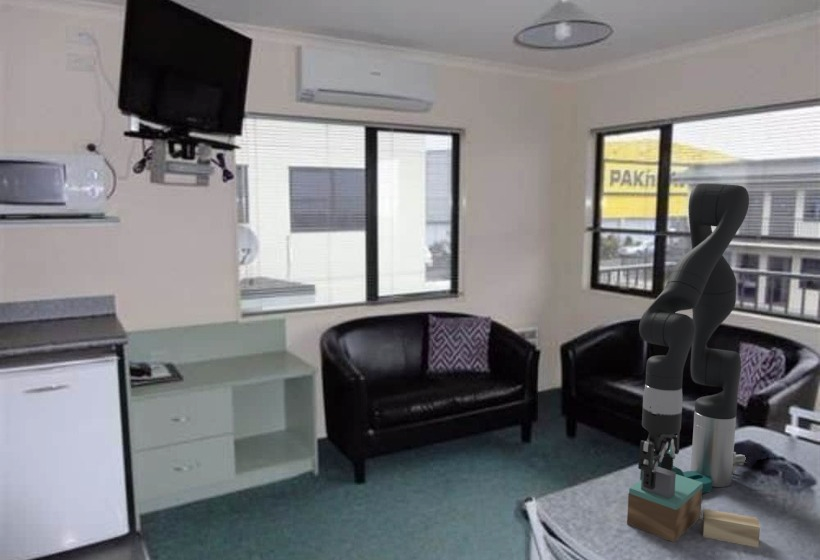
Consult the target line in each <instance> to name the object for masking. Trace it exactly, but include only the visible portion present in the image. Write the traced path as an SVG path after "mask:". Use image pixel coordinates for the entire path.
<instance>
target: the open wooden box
mask: <svg viewBox="0 0 820 560" xmlns="http://www.w3.org/2000/svg"><path fill="white" fill-rule="evenodd" d="M702 494H703V493H702V489H701V490H699V491H698V492H697V493H696V494H695V495H694V496H692V497H691V498H690V499H689V500H688V501H687V502H685V503H684V504H683V505H682V506H681V507H680V508H678V509H677V510H674V509H672V508H669V507H666V506H663V505H661V504H658V503H655V502H652V501H649V500H647V499H644V498H641V497H638V496H635V495H633V494H630V493H629V492H628V495H627V496H628V498H627V499H628V501H627V516H626V517H627V519H626V520H627V521H626V524H627V525H628V526H629V525H630V526H631V525H632V527H634V528H636V529H639V530H641V531H644V532H647V533H650V534H652V535H654V536H657V537H659V538H662V539H664V540H666V541H670V542H671V543H675V542H676V541H677V540H679V539H680V538H681V536H682V535H683V534H685V533H686V532H687V531H688V530H689V529H690V528H691V527H693V525H694V524H695V523H697V521H699V520H700V519H701V511H702V498H703V495H702Z"/></svg>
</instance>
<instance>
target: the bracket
mask: <svg viewBox="0 0 820 560" xmlns="http://www.w3.org/2000/svg"><path fill="white" fill-rule="evenodd" d="M653 463H654V461H653ZM658 467H661V463H658ZM673 471H674V472H676V474H677V475H680V476H684V477H687V478H690V479H693V480H696V481H700V482H703V488H702V494H704V493H708V492H711V491H712V490H713V489H712V488H713V486H712V478H711V477H707V476H704V475H701V474H699V473H697V472H695V471H691V470H686V471H683V470H682V469H681V468H678V467H677V466H675V465H673ZM639 473H640V475H639V481H640V480H642V470H641V469H640V472H639Z"/></svg>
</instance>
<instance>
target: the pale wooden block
mask: <svg viewBox="0 0 820 560" xmlns="http://www.w3.org/2000/svg"><path fill="white" fill-rule="evenodd" d="M701 525H702V526H701V529H702V537H703V538H705V539H706V538H707V539H713V540H717V541H723V542H729V543H732V544H737V545H743V546H748V547H754V548H759V547H760V546H759V545H760V544H759V543H760V532H761V531H760V530H761V526H760V522H759V519H758V518H757V517H753V516H748V515H742V514H736V513H730V512H726V511H720V510H714V509H709V508H703V510H702V523H701Z"/></svg>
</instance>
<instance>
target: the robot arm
mask: <svg viewBox="0 0 820 560" xmlns="http://www.w3.org/2000/svg"><path fill="white" fill-rule="evenodd" d="M688 198H689V199H688V206H687V208H688V211H687V212H688V221H689V222H688V223H689V232H690V241H691V249H690V250H689V251H688V252H687V253H685V254H684V255H683V256H682V257H681V258H680V259H679V260H678V261H677V262H676V264H675V265H674V267H673V269H672V271H671V274H670V275H669V278H668V280H667V282H666V285H664V289H663V290H662V291H661V293H660V294H659V295H658V296H657V297H656V298H655V300H654V301H653V302H651V304H650V305H649V306H648V308H646V310H645V311H644V313H643V315H641V318H640V321H639V325H638V331H639V336H640V337H641V339H642V340H643V341H644V342H646V343H648V344H653V345H658V346H663V347H668V352H667V353H666V355H652V356H650V357H649V358H648V359H647V360H646V365H645V366H646V367H645V382H644V390H643V396H642V414H641V416H642V417H641V419H642V420H641V427H642V428H644V429H645V430H646V431H647V432H648V436H647V439H646V440H642V439H641V440H640V442H639V452H638V465H637V466H638V467H637V468H638V469H639V470H640V471H641V470H644V479H643V486H644V487H645V488H648V489H651V490H653V489H654V488H655V481H656V469H657V466H658V463H661V468H664V469H667V470H671V471H673V466H674V460H675V459H676V455H678V454H679V453H680V434H681V433H680V432H681V429H682V417H683V403H684V402H683V401H684V399H683V398H684V396H683V377H684V375H683V374H684V368H685V364H686V361H687V358H688V355H689V353H690V351H691V355H690V377H691V380H692V381H693V382H694V383H695V384H697V385H702V386H709V387H715V388H721V389H722V391H720V392H718V393H715V394H712V395H706V396H701V397H698V398H697V399H696V400H695V402H694V414H693V432H692V444H691V445H692V446H691V463H690V471H695V472H697V473H699V474H701V475H704V476H707V477H711V478H712V488H713V487H715V488H725V487H729V486H730V485H732V478H733V475H732V468H733V454H734V452H735V450H734V449H735V439H736V420H737V408H738V394H739V393H738V392H739V385H740V384H739V383H740V379H741V372H742V370H741V369H742V358H741V355H740V354H739V352H738V351H734V350H728V349H727V350H725V349H718V348H710V347H708V346H707V344H708V342H709V340H710V338H711V337H712V336H713V334H714V332H715V331H716V330H717V328H719V326H720V325H722V324H723V322H724V321H725V320H726V319H728V317H729V315H730V314H732V312H733V310H734V309H735V306H736V300H737V277H736V275H735V272H734V271H733V269H732V267H731V265H730V264H729V262H728V261H727V259H726V258H725V256H724V255H723V254H724V253H725V251H727V248H728V247H729V245H730V243H731V242H732V241H733V239H734V237H735V235H736V234H737V232H738V231H739V229H740V228H741V227H742V224H743V222H744V221H745V219H746V216H747V214H748V209H749V206H750V195H749V192H748V190H747V188H746V187H745V186H743V185H737V184H724V183H723V184H722V183H699V184H696V185H694V186H693V187H692V189H691V191H690V195H689V197H688ZM713 227H715V228H714V230H712V228H713ZM688 310H692V311H691V313H692V318H691V317H690V316H689V315H687V314H683V313H679V312H681V311H688ZM677 312H678V313H677ZM653 461H654V463H653Z"/></svg>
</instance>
